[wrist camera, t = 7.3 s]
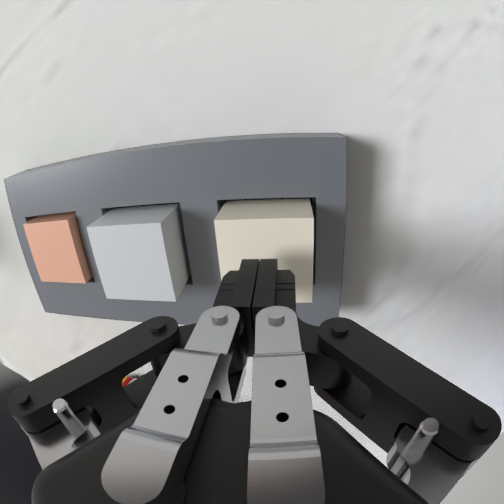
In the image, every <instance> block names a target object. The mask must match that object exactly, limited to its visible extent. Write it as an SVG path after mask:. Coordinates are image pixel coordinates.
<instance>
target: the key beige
mask: <svg viewBox="0 0 504 504" xmlns="http://www.w3.org/2000/svg"><path fill="white" fill-rule="evenodd" d="M214 226H215V234H216V242H217V251H218V259H219V267H220V274H221V281H222V278H223V276H224V275H226V274H227V273H228V272H229V271H234V270H239V268H240V264H241V261H242V259H259V260H260V259H277V260H278V270H291V272H292V273H293V274H294V275H295V290H296V303H312V292H313V254H314V216H313V212H312V207H311V203H310V199H267V200H239V201H226V202H225V203H224V205H223V206H222V208H221V210H220V211H219V213H218V215H217V216H216V218H215V219H214Z"/></svg>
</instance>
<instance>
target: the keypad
mask: <svg viewBox="0 0 504 504" xmlns="http://www.w3.org/2000/svg"><path fill="white" fill-rule="evenodd" d="M346 171H347V149H346V137H345V136H343V135H341V134H339V133H284V134H259V135H242V136H228V137H216V138H205V139H195V140H186V141H177V142H169V143H161V144H154V145H147V146H140V147H134V148H128V149H122V150H116V151H110V152H105V153H99V154H94V155H89V156H84V157H80V158H75V159H70V160H66V161H61V162H57V163H53V164H49V165H45V166H41V167H37V168H33V169H29V170H25V171H23V172H20V173H18V174H15V175H13V176H11V177H8V178H6V179H4V183H5V188H6V192H7V197H8V201H9V205H10V209H11V213H12V217H13V221H14V224H15V228H16V231H17V235H18V238H19V241H20V245H21V248H22V251H23V254H24V257H25V260H26V263H27V266H28V269H29V272H30V274H31V277H32V280H33V282H34V285H35V288H36V290H37V293H38V295H39V298H40V300H41V303H42V305H43V307H44V310H45V312H49V313H57V314H65V315H73V316H82V317H92V318H102V319H113V320H124V321H137V322H145V321H147V320H149V319H151V318H153V317H157V316H169V317H172V318H174V319H175V320H176V321H177V323H178V324H185V325H191V324H195V323H197V322H198V320H199V318H200V316H201V315H202V313H203V312H205V311H206V310H208V309H210V308H212V307H213V304H214V301H215V298H216V295H217V292H218V291H219V287H220V285H221V274H220V267H219V259H218V251H217V242H216V234H215V226H214V219H215V218H216V216H217V215H218V213H219V211H220V210H221V208H222V206H223V205H224V203H225V202H226V201H227V200H232V199H258V198H297V197H313V216H314V254H313V292H312V303H296V314H297V316H298V317H299V318H300V319H301V320H302V321H303V322H305V323H307V324H310V325H314V326H320V324H321V323H322V322H324V321H325V320H327V319H330V318H336V317H338V315H339V305H340V295H341V283H342V270H343V255H344V238H345V216H346ZM177 202H180V208H181V215H182V222H183V228H184V235H185V241H186V247H187V253H188V259H189V265H190V271H191V275H190V276H189V278H188V280H187V282H186V284H185V286H184V288H183V290H182V291H181V293H180V295H179V297H178V299H177V301H176V302H172V301H146V300H125V299H107V297H106V294H105V291H104V288H103V285H102V282H101V279H100V275H99V272H98V269H97V265H96V262H95V258H94V255H93V251H92V247H91V244H90V240H89V236H88V232H87V228H86V227H87V226H89V225H90V224H91V223H93V222H94V221H96V220H97V219H98V218H100V217H101V216H103V215H104V214H106V213H107V212H108V211H110V210H111V209H114V208H122V207H124V206H136V205H148V204H162V203H177ZM73 211H76V215H77V219H78V223H79V228H80V231H81V235H82V239H83V243H84V247H85V250H86V254H87V257H88V261H89V264H90V267H91V271H92V274H93V277H92V278H91V279H90V280H89V281H88V282H87V283H65V282H45V281H41V279H40V276H39V273H38V270H37V268H36V265H35V262H34V259H33V256H32V253H31V249H30V246H29V243H28V240H27V236H26V233H25V229H24V226H23V224H25V223H26V222H28V221H30V220H31V219H33V218H35V217H36V216H39V215H47V214H55V213H64V212H73Z"/></svg>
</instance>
